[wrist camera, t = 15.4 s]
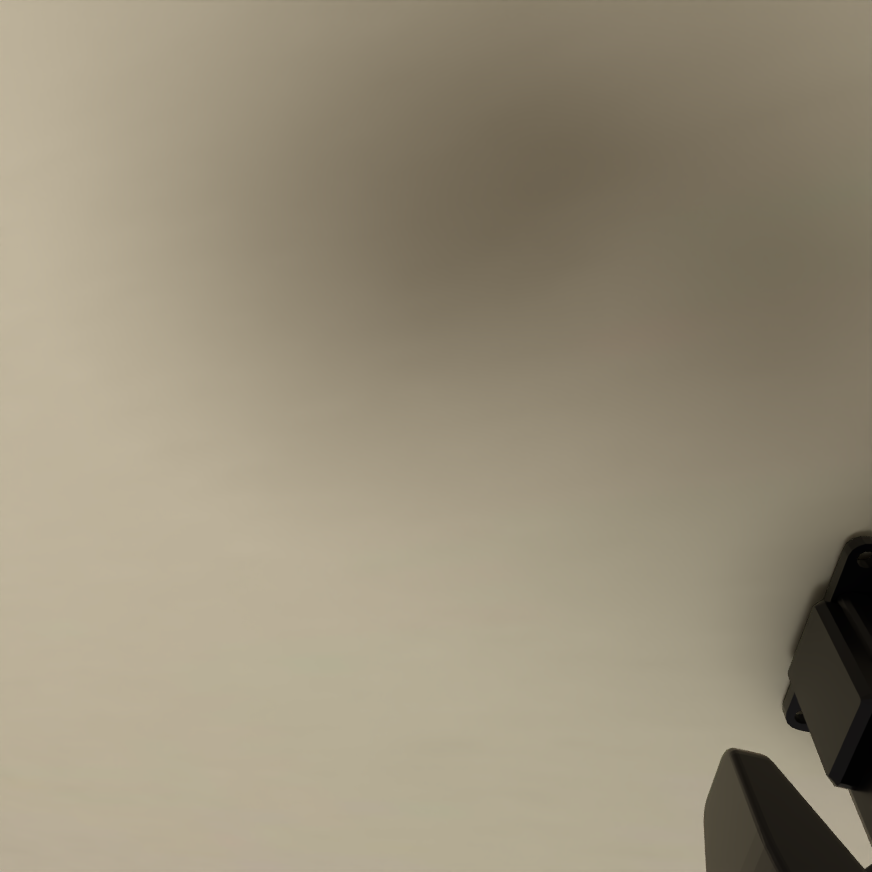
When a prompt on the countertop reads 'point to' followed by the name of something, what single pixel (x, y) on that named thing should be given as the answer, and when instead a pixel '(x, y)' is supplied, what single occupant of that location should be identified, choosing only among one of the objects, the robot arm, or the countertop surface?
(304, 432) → the countertop surface
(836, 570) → the robot arm
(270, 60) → the countertop surface
